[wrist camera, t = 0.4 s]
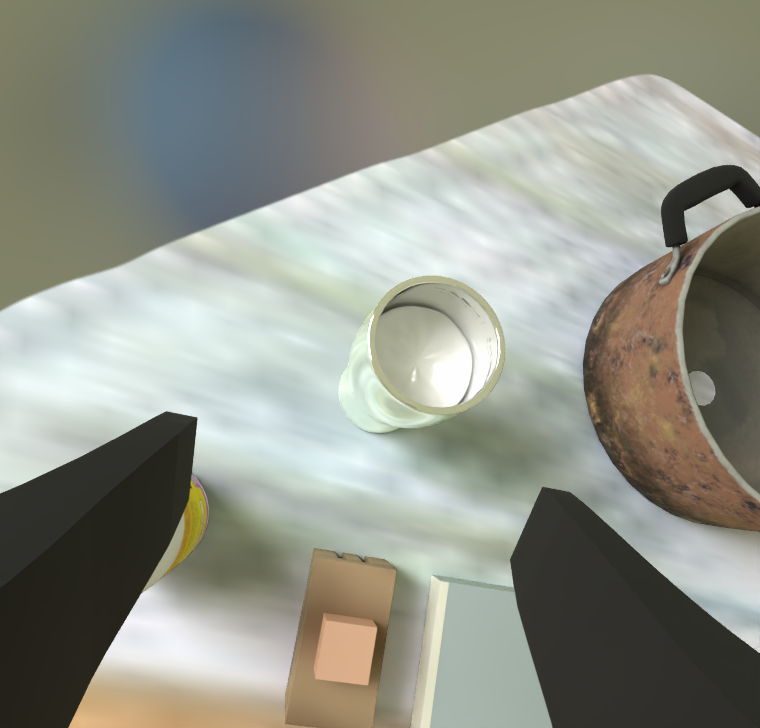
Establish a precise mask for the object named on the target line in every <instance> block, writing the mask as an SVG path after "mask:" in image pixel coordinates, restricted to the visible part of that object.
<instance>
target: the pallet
mask: <svg viewBox="0 0 760 728" xmlns="http://www.w3.org/2000/svg"><path fill="white" fill-rule="evenodd" d="M396 572H397V570H396V569H395V568H394V567H393V566H391V565H390V564H389V563H388V562H387V561H386V560H384V559H378V558H372V557H366V556H365V561H364V562H362V561H361V559H360V558H359V557H358V556H357V555H353V554H347V553H343V554H342V558H338V557H337V555H336V554H335V552H334V551H328V550H322V549H316V548H314V551H313V556H312V561H311V566H310V571H309V576H308V582H307V587H306V592H305V597H304V602H303V607H302V612H301V617H300V622H299V627H298V633H297V638H296V643H295V648H294V653H293V658H292V663H291V668H290V673H289V678H288V684H287V689H286V694H285V724H289V725H298V726H307V727H316V728H372V724H373V718H374V712H375V705H376V699H377V692H378V686H379V680H380V673H381V667H382V661H383V654H384V648H385V642H386V635H387V629H388V623H389V616H390V610H391V603H392V597H393V591H394V584H395V578H396ZM324 613H329V614H336V615H343V616H350V617H357V618H364V619H371V620H373V621H374V623H375V625H376V626H377V633H376V639H375V645H374V651H373V658H372V664H371V670H370V676H369V682H368V685H360V684H352V683H343V682H335V681H327V680H319V679H315V674H314V663H315V658H316V653H317V647H318V642H319V637H320V631H321V626H322V620H323V615H324Z"/></svg>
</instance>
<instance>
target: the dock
mask: <svg viewBox="0 0 760 728" xmlns="http://www.w3.org/2000/svg"><path fill="white" fill-rule="evenodd" d="M410 728H552V724H551V720H550V717H549V713H548V710H547V707H546V703H545V700H544V697H543V693H542V690H541V686H540V683H539V680H538V676H537V673H536V670H535V666H534V663H533V659H532V656H531V653H530V649H529V646H528V643H527V639H526V636H525V632H524V629H523V625H522V622H521V618H520V614H519V611H518V607H517V602H516V596H515V590H514V588H511V587H505V586H499V585H492V584H486V583H480V582H473V581H467V580H461V579H454V578H448V577H442V576H435V575H432V578H431V585H430V592H429V599H428V606H427V613H426V620H425V627H424V634H423V642H422V649H421V656H420V663H419V670H418V677H417V684H416V691H415V698H414V705H413V712H412V719H411V727H410Z"/></svg>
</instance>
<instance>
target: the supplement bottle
mask: <svg viewBox="0 0 760 728" xmlns="http://www.w3.org/2000/svg"><path fill="white" fill-rule="evenodd" d="M208 519H209V504H208V499H207V496H206V493H205V491H204V489H203V487H202V485H201V484H200V483H199V481H198V480H197V479H196V478H195V477H194V476H193V475H192V476H191V485H190V495H189V501H188V503H187V506H186V508H185V510H184V513H183V515H182V518H181V520H180V522H179V525H178V527H177V529H176V531H175V534H174V536H173V538H172V540H171V542H170V545H169V547H168V548H167V550H166V552H165V553H164V555H163V557H162V559H161V560H160V562H159V564H158V566H157V567H156V569H155V571H154V572H153V574H152V576H151V577H150V579H149V581H148V583H147V584H146V586H145V588H144V589H143V591H142V593H143V592H144V591H146V590H147V589H149V588H150V587H151V586H153V585H154V584H155V583H156V582H157V581H159V580H160V579H161V578H162V577H163V576H164V575H166V574H167V573H168V572H169V571H171V570H172V569H173V568H174V567H175V566H177V565H178V564H179V563H180V562H182V561H183V560H184V559H185V558H186V557H188V555H189V554H190V553H191V552H192V551H193V550H194V549H195V548H196V547H197V546H198V544H199V543H200V541H201V539H202V538H203V536H204V533H205V531H206V528H207V524H208Z"/></svg>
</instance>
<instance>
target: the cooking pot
mask: <svg viewBox="0 0 760 728" xmlns="http://www.w3.org/2000/svg"><path fill="white" fill-rule="evenodd" d="M727 189H730V190H731V191H732V192H733V193H734V194H735V195H736V196H737V197H738V198H739V200H740V201H741V202H742V203H743V204H744V206H745V207H746V208H751V207H753V206H754V207H755V208H754V209H751V210H749V211H746V212H743V213H741V214H738V215H736V216H734V217H732V218H731V219H729V220H727V221H725V222H723V223H722V224H720V225H718V226H716V227H714V228H713V229H711V230H709V231H707V232H706V233H704V234H702V235H700V236H698V237H697V238H695V239H693V240H691V241H690V242H688V243H687V241H688V238H687V233H686V227H685V220H684V211H685V210H687V209H690V208H692V207H694V206H696V205H697V204H699V203H701V202H703V201H704V200H706V199H708V198H710V197H712V196H714V195H716V194H718V193H721V192H723V191H725V190H727ZM661 217H662V224H663V232H664V238H665V244H666V247H673V251H672V252H670V253H668V254H666V255H665V256H663V257H661V258H659V259H657V260H656V261H654V262H652V263H650V264H649V265H647V266H645V267H643V268H642V269H640V270H639V271H637V272H636V273H634V274H633V275H631V276H630V277H629V278H627V279H626V280H624V281H623V282H621V283H620V284H619V285H618V286H617V287H616V288H615V289H614V290H613V291H612V292H611V293H610V294H609V295H608V297H607V298H606V299H605V300H604V302H603V303H602V305H601V307H600V308H599V310H598V312H597V313H596V315H595V317H594V319H593V322H592V325H591V327H590V330H589V333H588V336H587V339H586V345H585V353H584V360H583V375H584V391H585V395H586V400H587V405H588V410H589V414H590V417H591V420H592V422H593V425H594V428H595V430H596V433H597V435H598V438H599V440H600V442H601V444H602V445H603V447H604V449H605V450H606V452H607V454H608V456H609V457H610V459H611V461H612V463H613V464H614V465H615V466H616V467H617V469H618V470H619V471H620V472H621V473H622V475H623V476H624V477H625V478H626V479H627V481H628V482H629V483H630V484H631V485H632V486H633V487H635V488H636V489H637V490H638V491H639V492H640V493H641V494H643V495H644V496H645V497H646V498H647V499H648V500H649V501H651V502H653V503H654V504H656V505H658V506H659V507H661V508H663V509H664V510H666V511H668V512H669V513H671V514H673V515H676V516H679V517H682V518H684V519H687V520H690V521H692V522H696V523H701V524H707V525H714V526H720V527H727V528H734V529H742V530H750V531H758V532H760V187H759V186H758V184H757V183H756V182H755V180H754V179H753V178H752V177H751V176H750V175H749V173H748V172H747V171H745V170H744V169H743V168H741V167H739V166H735V165H722V166H718V167H713V168H710V169H708V170H706V171H703V172H701V173H699V174H697V175H695V176H693V177H691V178H689V179H687V180H685V181H684V182H682V183H680V184H678V185H677V186H676V187H674V188H673V189H672V190H671V191H670V192H669V193H668V194H667V196H666V197H665V199H664V200H663V203H662V206H661ZM685 243H686V244H685ZM682 244H684V245H682ZM680 245H682V246H681V247H680ZM692 371H702V372H705V373H706V374H707V375H709V376H710V378H711V379H712V380H713V382H714V385H715V391H716V394H715V397H714V400H713V401H712V402H711V403H710V404H708V405H706V406H699V405H698V404H697V402H696V400H695V397H694V395H693V391H692V387H691V383H690V379H689V375H688V374H689V373H691V372H692Z"/></svg>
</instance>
